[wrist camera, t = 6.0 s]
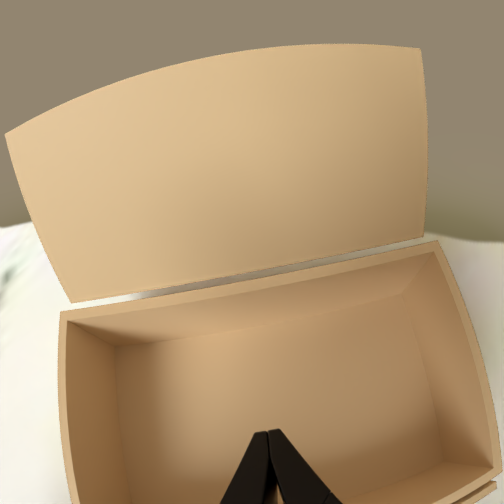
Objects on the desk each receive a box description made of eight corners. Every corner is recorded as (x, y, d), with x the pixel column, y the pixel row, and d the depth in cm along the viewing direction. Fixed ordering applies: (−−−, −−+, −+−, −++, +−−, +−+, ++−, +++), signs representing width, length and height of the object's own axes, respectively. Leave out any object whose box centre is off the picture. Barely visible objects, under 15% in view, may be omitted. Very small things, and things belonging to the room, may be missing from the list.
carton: (449, 473, 13) (503, 483, 7) (135, 528, 13) (86, 555, 7) (402, 287, 21) (437, 240, 15) (111, 341, 21) (60, 311, 15)
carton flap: (420, 48, 10) (414, 49, 11) (4, 134, 10) (10, 132, 11) (423, 236, 15) (418, 232, 15) (71, 303, 15) (74, 298, 15)
